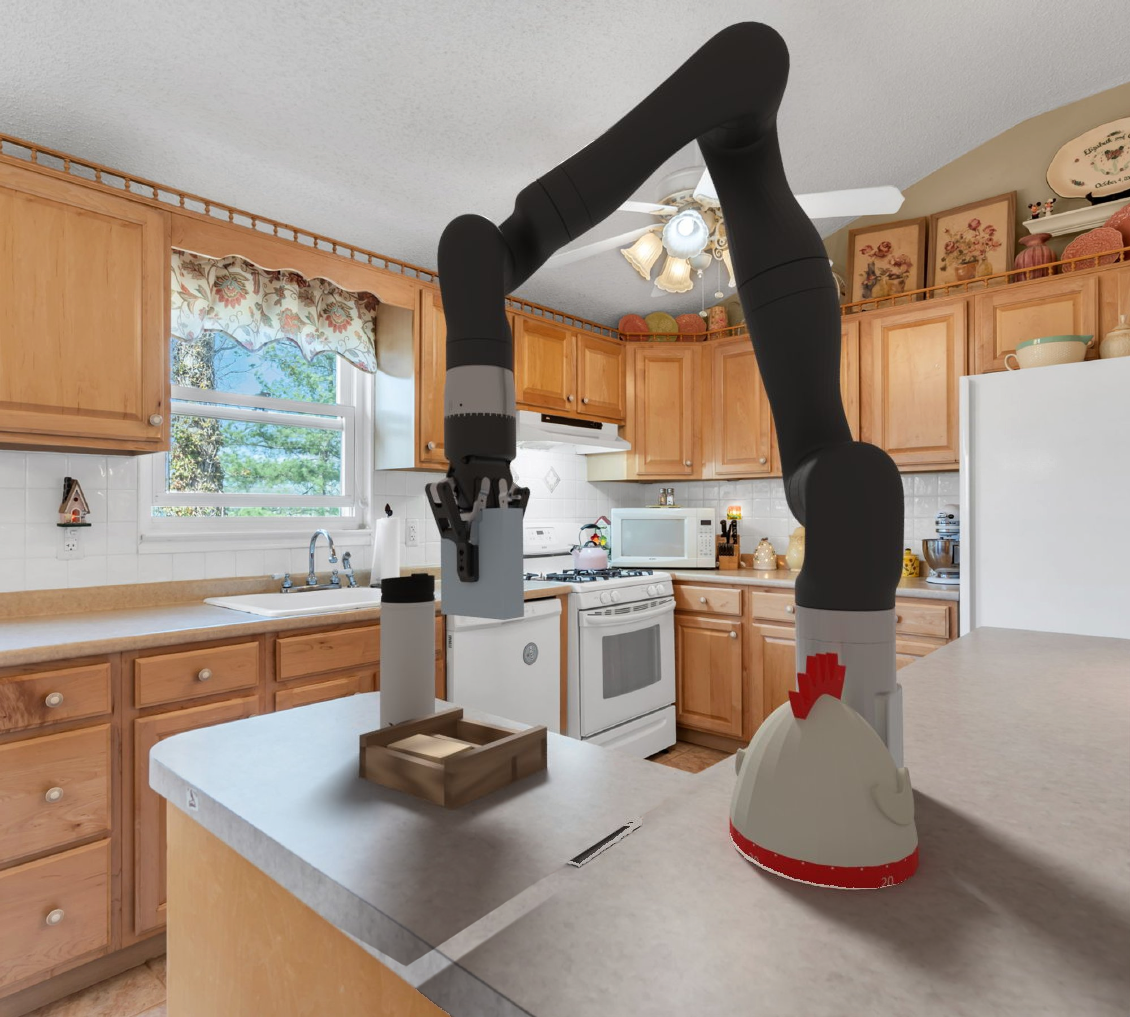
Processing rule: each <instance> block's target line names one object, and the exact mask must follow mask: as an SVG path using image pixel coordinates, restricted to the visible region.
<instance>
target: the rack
mask: <svg viewBox="0 0 1130 1017" xmlns="http://www.w3.org/2000/svg"><path fill="white" fill-rule="evenodd" d="M418 734H421V735H425V736H429V737H434V738H438V739H443V740H447V741H452V742H456V743H461V744H465V745H470V746H471V750H470V751H467V752H464V753H461V754H459V755H456V756H453V757H450V758H448V759H445V760H444V765H441V764H437V763H434V762H431V761H427V760H424V759H421V758H417V757H414V756H410V755H407V754H404V753H400V752H397V751H394V750H390V749H387V745H389V744H392V743H395V742H398V741H401V740H404V739H406V738H409V737H412V736H415V735H418ZM358 738H359V739H358V740H359V743H358V744H359V747H358V748H359V753H358V755H359V760H358V761H359V762H358V763H359V764H358V765H359V767H358V768H359V769H358V770H359V773H358V777H359V778H361V779H364V780H367V781H369V782H372V783H375V784H378V785H380V786H381V785H382V786H384V787H387V788H390V789H392V790H395V791H398V792H401V793H403V794H406V795H410V796H413V797H415V798H418V799H421V800H424V801H426V802H429V803H432V804H435V805H437V806H440V807H443V808H446V809H449V810H455V809H457V808H459V807H462V806H463V805H466V804H468V803H470V802H472V801H475V800H477V799H480V798H482V797H484V796H486V795H488V794H490V793H493V792H495V791H497V790H500V789H502V788H504V787H507V786H509V785H511V784H513V783H516V782H518V781H520V780H522V779H525V778H527V777H529V776H531V775H533V774H536V773H537V772H540V771H542V770H545V769H547V768H548V727H547V726H544V725H540V724H539V725H537V726H533V727H531V728H528V729H525V730H518V729H515V728H511V727H507V726H501V725H497V724H493V723H490V722H489V723H488V722H486V721H485V722H484V721H481V720H475V719H471V718H468V717H464V708H462V707H458V706H457V707H453V708H449V709H446V710H445V709H444V710H442V711H439V712H435V714H431V715H428V716H424V717H421V718H417V719H414V720H410V721H407V722H403V723H400V724H396V725H393V726H389V727H386V728H382V729H380V728H379V729H376V730H372V731H368V732H365V733H361V734H359V737H358Z"/></svg>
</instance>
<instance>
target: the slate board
mask: <svg viewBox="0 0 1130 1017" xmlns="http://www.w3.org/2000/svg"><path fill="white" fill-rule="evenodd" d="M462 512H463V514H469V513H471V512H464V510H462ZM448 521H449V520H448ZM449 524H450V522H449ZM450 527H451V525H450ZM466 531H468V522H467V523H466ZM475 546H479V580H478V581H477V582H472V583H470V582H461V581H460V579H459V577H458V574H457V547H456V544H455V543H454V542H453V541H451V540H448V539H443V538H442V537H441V536H440V603H441V604H440V610H441V612H440V614H441V615H446V616H456V617H457V616H459V617H469V618H479V619H480V618H481V619H489V620H490V619H491V620H502V621H504V620H512V619H517V618H523V617H525V596H524V595H525V594H524V592H525V590H524V589H525V588H524V586H525V585H524V583H525V582H524V518H523V509H520V508H492V509H483V519H482V521H481V522H480V524H479V538H478V543H477V544H476V545H475Z"/></svg>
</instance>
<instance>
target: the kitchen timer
mask: <svg viewBox="0 0 1130 1017" xmlns="http://www.w3.org/2000/svg"><path fill="white" fill-rule="evenodd" d="M845 671H846V666H844V665H838V654H837V653H829V652H826V654H820V653H816V654H815V656H809V655H807V659H806V674H805V673H799V672H798V673H797V680H798V687H799V692H796V691H794V690H793V691H792V690H788V691H787V693H788V699H789V700H788V701H786V702H784V703H783V704H781V705H780V706H778V707H777V708H776V709H775V710H773V712H771V714H769V715H768V716H767V717H766V719H765V720H764V721H763V722H762V724H761V725H760V726H759V728H758V729H757V731H756V732H755V733H754V735H753V736H752V739H751V740H750V742H749V745H748V747H747V749H746V750H744V749H742V748H738V749H737V750H736V755H735V774H736V776H737V778H736V780H735V785H734V788H733V791H732V796H731V801H730V805H729V806H730V807H729V819H728V820H729V834H730V833H731V836H732V838H733V841H734V842H735V843H736V844H737V846H739V848H740V849H741V850H742V851H743V852H744V853H745V854H747V855H748V856H750V857H751V858H753V859H754V860H756V861H757V862H759V863H760V864H763V866H766V867H768V868H771V869H773V870H774V871H777V872H780V873H783V874H784V875H787V876H789V877H792V878H794V879H800V880H803V881H809V882H811V883H812V882H813V883H816V884H824V885H829V886H830V885H834V886H838V887H846V888H853V887H854V888H878V887H879V888H880V887H882V886H887V885H893V884H898V883H900V882H901V881H904V880H905V879H907V878H909V877H911V876H912V877H914V875H915V873H916V871H917V869H918V868H919V867H920V863H919V862H920V861H919V860H920V859H919V856H920V855H919V854H920V853H919V839H918V837H919V836H918V831H917V828H916V827H917V826H916V821H915V819H914V817H915V801H914V799H915V798H914V792H913V787H912V781H911V776H910V772H909V771H910V770H909V768H908V767H906V766H904V767H902V768H897V767H896V764H895V762H894V760H893V758H892V756H891V754H890V753H889V751H888V749H887V748H886V746H885V744H884V743H883V741H882V740H881V738H880V737H879V736H878V734H877V733H876V732H875V730H874V729H873V728H872V727H871V726H870V724H869V723H868V722H867V721H866V720H865V719H864V718H863V717H862V716H861V715H860V714H858V713H857V712H856V711H855V710H854V709H852V708H851V707H850V706H848V705H847V704H846V703H844V702H843V701H841V695H842V690H843V684H844V678H845ZM917 867H918V868H917ZM912 877H911V878H912ZM909 879H910V878H909ZM907 880H908V879H907ZM905 881H906V880H905ZM905 881H904V882H905ZM900 884H901V883H900ZM898 885H899V884H898Z"/></svg>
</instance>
